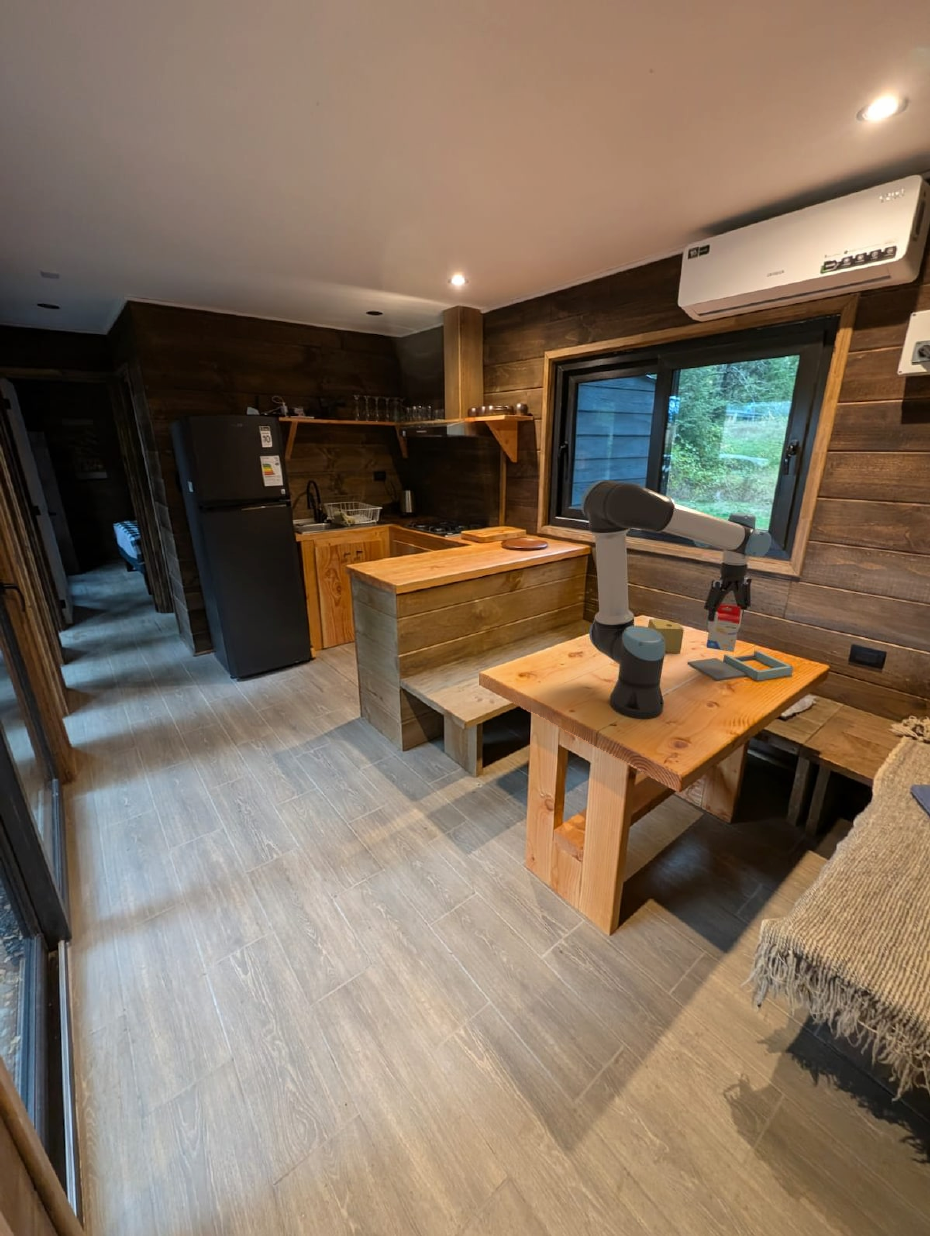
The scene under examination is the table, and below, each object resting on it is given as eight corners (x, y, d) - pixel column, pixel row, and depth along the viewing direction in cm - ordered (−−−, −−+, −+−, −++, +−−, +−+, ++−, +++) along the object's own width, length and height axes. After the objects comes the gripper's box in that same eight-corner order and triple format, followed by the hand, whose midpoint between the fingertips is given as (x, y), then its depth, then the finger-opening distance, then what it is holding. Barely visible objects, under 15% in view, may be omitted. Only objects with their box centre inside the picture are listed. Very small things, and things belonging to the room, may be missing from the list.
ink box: (706, 648, 170) (712, 607, 165) (706, 643, 174) (713, 602, 169) (734, 652, 166) (741, 610, 161) (734, 647, 170) (741, 606, 165)
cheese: (673, 643, 196) (676, 619, 193) (681, 654, 186) (685, 629, 183) (645, 642, 197) (648, 618, 194) (652, 653, 187) (655, 628, 184)
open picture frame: (757, 680, 165) (758, 672, 164) (722, 662, 178) (724, 654, 177) (791, 675, 168) (793, 667, 167) (755, 657, 182) (757, 650, 181)
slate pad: (716, 680, 165) (716, 678, 164) (687, 663, 177) (687, 661, 177) (746, 676, 168) (746, 674, 168) (715, 659, 181) (716, 657, 180)
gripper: (715, 567, 154) (704, 635, 161) (772, 562, 160) (759, 628, 167) (698, 562, 161) (688, 628, 168) (753, 557, 166) (741, 621, 174)
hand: (723, 628), depth 168 cm, fingers closed on ink box, 9 cm apart
